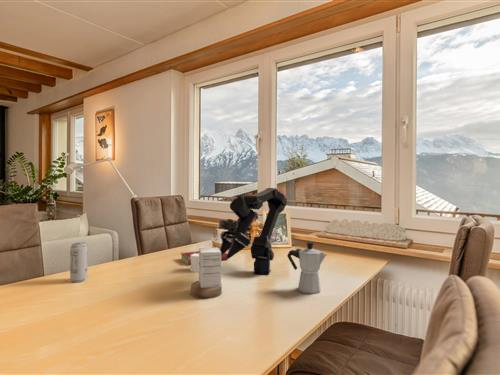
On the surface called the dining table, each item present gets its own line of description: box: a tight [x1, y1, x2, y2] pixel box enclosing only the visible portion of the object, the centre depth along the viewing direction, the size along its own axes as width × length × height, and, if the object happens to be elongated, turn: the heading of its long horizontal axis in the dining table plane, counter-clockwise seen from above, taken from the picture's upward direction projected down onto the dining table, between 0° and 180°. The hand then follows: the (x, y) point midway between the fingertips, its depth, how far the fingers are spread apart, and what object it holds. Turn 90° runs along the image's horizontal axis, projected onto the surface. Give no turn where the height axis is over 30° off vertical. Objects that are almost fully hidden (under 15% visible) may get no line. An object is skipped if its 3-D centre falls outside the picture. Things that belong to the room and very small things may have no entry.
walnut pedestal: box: [190, 280, 223, 300], centre depth 113 cm, size 11×11×3 cm
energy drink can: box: [69, 241, 88, 283], centre depth 125 cm, size 6×6×15 cm
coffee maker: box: [286, 241, 328, 295], centre depth 117 cm, size 15×9×18 cm, turn 71°
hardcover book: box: [180, 250, 229, 266], centre depth 159 cm, size 12×21×4 cm, turn 121°
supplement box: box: [198, 247, 222, 288], centre depth 113 cm, size 7×7×13 cm
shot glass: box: [190, 253, 199, 273], centre depth 141 cm, size 7×7×7 cm
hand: (223, 256), depth 120 cm, fingers open, 9 cm apart
